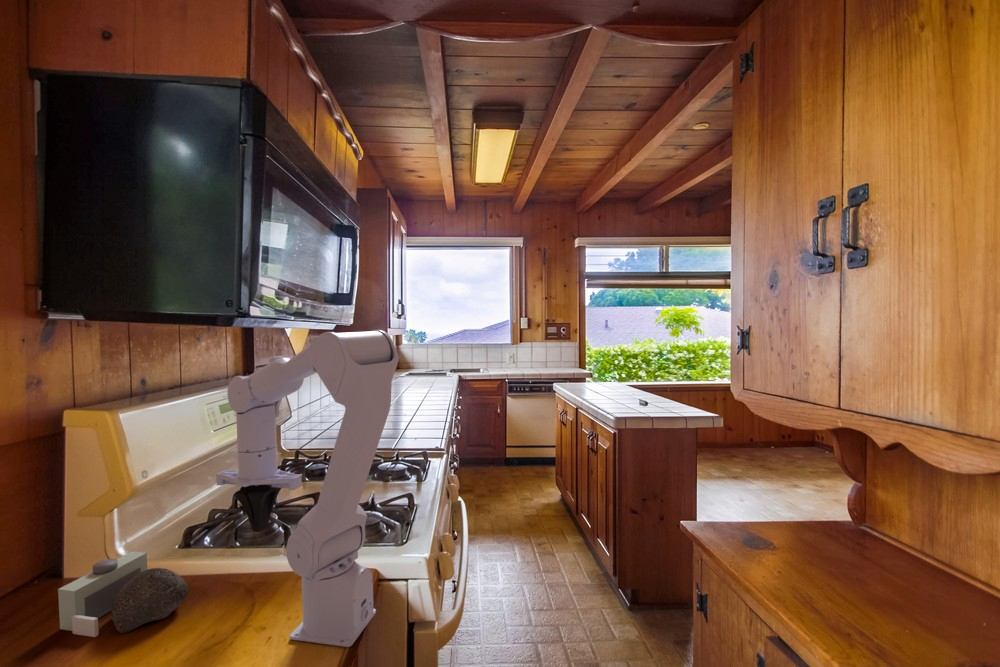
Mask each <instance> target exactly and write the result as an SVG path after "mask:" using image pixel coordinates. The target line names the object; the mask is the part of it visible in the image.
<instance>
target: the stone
mask: <svg viewBox="0 0 1000 667" xmlns="http://www.w3.org/2000/svg"><path fill="white" fill-rule="evenodd" d="M189 591H190V589H189V587H188V584H187V583H186V581H185V579H184V578H183V577H182V576H180V575H179V574H178V573H176V572H174V571H172V570H170V569H168V568H162V567H153V568H147V570H145V571H143V572H141V573H139V574H138V575H137V576H135V577H133V579H131V580H130V581H129V582H128V583H127V584H125V585H124V586H123V587H122V588H121V590H120V591H119V592H118V593H117V594H116V596H115V597H114V599H113V600H112V605H111V606H112V610H111V619H112V622H113V624H114V628H115V629H116V630H117V631H118V632H119V633H121V634H126V633H130V632H132V631H133V630H135V629H136V628H138V627H140V626H142V625H144V624H148V623H151V622H157V621H160V620H163V619H165V618H168V617H169V616H170V615H171V614H172V613H173V612H174V611H175V609H176V608H178V607H179V606H180V605H181V604H182V603H183V602H184V601H185V599H186V597H187V595H188V594H189Z"/></svg>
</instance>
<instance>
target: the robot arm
mask: <svg viewBox="0 0 1000 667" xmlns="http://www.w3.org/2000/svg"><path fill="white" fill-rule="evenodd" d="M399 360H400V355H399V353H398V351H397V349H396V346H395V343H394V341H393V339H392V338H391V336H390V335H389V334H388V333H387V332H386V331H384V330H381V329H373V330H370V331H369V330H368V331H350V332H346V331H345V332H334V331H326V332H323V333H321V334H319V336H316V337H312V338H311V339H310V343H309V345H308V346H306V347H305V348H304V349H302V350H301V351H300V352H298V353H297V354H295V355H294V356H293V357H290V358H289V357H283V356H282V355H281V356H272V357H271V358H269V360H268V362H269V363H268V364H266V365H264V366H262V367H257V368H255V369H253V373H251V374H250V375H245V376H243V375H234V376H233V378H232V379H231V380H230V381H229V383H228V386H227V392H226V393H227V394H226V395H227V401H228V403H229V407H230V408H231V409H232V411H234V412H235V416H236V419H235V420H236V442H237V464H238V466H237V467H238V468H237V469H234V470H233V469H231V470H229V469H225V470H222V471H220V472H218V473H216V474H215V479H216V480H215V482H216V486H224V485H235V486H236V487H240V488H239V490H237V491H235V492H234V497H235V498H236V500H237V501H238V502H239V503H240V505H241V506H242V508H243V509H244V512H245V513H246V517H247V518H248V521H249V523H250V526H251V530H252V532H254V533H255V532H256V533H261V532H263V531H265V529H267V528H268V527H269V523H270V517H271V514H272V510H273V507H274V504H275V501H276V499H277V497H278V495H279V493H280V491H281V489H288V490H289V491H296V490H297V489H299V488H300V487H302V486H303V483H302V481H303V480H302V474H301V473H300V474H297V473H293V472H288V471H285V470H281V469H278V444H277V442H278V441H277V418H278V417H279V415H280V405H281V403H282V401H283V399H284V398H286V397H288V396H289V395H291V394H293V393H295V392H297V391H298V390H300V389H301V388H302V386H303V383H304V381H305V378H308V377H310V376H313V375H315V374H317V375H318V377H319V378H320V380H321V381H322V383H323V384H324V386H325V388H326V389H327V391H328V393H329V394H330V395H331V397H332V399H333V401H334V402H335V403H336V404H340V405H342V406H344V409H345V410H344V413H343V417H342V421H341V423H340V427H339V430H338V434H337V437H336V440H335V442H334V443H335V444H334V447H333V450H332V454H331V456H330V461H329V463H328V467H327V469H326V470H327V471H326V473H325V477H324V479H323V483H322V486H321V491H320V494H319V497H318V499H317V503H316V504H315V505H314V506H312V508H311V509H310V510H309V511H308V512H306V513H305V514H304V516H303V517H301V519H300V520H298V522H297V525H296V529H295V530H294V532H292V533H291V534H290V535H289V537H288V539H287V543H286V547H285V548H286V549H285V550H286V553H285V555H286V559H287V562H288V565H289V566H290V568H291V569H292V571H293V572H294V573H295V574H296V575H297V576H299V577H301V599H302V601H301V604H302V622H301V623H300V624H299V625H298V626H297V627H296V628H295V629H294V630H292V632H291V633H290V634H289V639H290V640H293V641H301V642H308V643H313V644H314V643H316V644H321V645H323V644H324V645H329V646H336V647H344V648H350V647H351V646H353V644H354V643H355V642H356V640H357V639H358V638H359V636H360V635H361V634H362V632H363V631H364V630H365V628H366V627H367V626H368V624H369V622H370V621H371V620H372V618H373V617H374V616H375V615H376V613H377V609H376V608H374V579H373V572H372V570H371V568H370V567H367V566H364V565H361V564H359V563H358V562H356V560H357V559H358V558H359V550H361V549H362V548H363V546H364V544H365V541H366V522H367V519H368V515H367V513H366V511H365V510H364V508H363V507H362V506H361V505H360V501H361V499H362V494H363V492H364V489H365V487H366V483H367V480H368V477H369V473H370V470H371V468H372V465H373V462H374V459H375V456H376V453H377V451H378V450H377V449H378V447H379V443H380V440H381V438H382V434H383V432H384V429H385V425H386V421H387V419H388V416H389V413H390V410H391V407H392V406H391V405H392V382H393V379H394V376H395V372H396V369H397V367H398V362H399Z"/></svg>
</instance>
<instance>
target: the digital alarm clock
mask: <svg viewBox="0 0 1000 667" xmlns="http://www.w3.org/2000/svg"><path fill="white" fill-rule="evenodd" d="M147 556H148V554H147V552H142V551H129V553H126V554H124V555H122V556H120V557H118V558H107V559H104V560H101V561H98V562H96V563H94V564H93V565H92V571H91V572H89V573H87V574H85V575H83V576H81V577H79V578H77V579H75V580H73V581H71V582H70V583H67V584H65V585H63V586H61V587H59V588H58V589H57V594H58V613H59V629H60V630H63V631H64V630H65V631H70V632H72V634H73V635H79V636H85V637H90V638H91V637H92V638H96V637H98V636H99V619H100V618H101V617H102V616H105V614H107V613H109V612H112V606H111V605H112V600H113V599H114V597H115V596H116V594H117V593H118V592H119V591H120V590H121V588H122V587H123V586H124V585H125V584H127V583H128V582H129V581H130V580H131V579H133V577H135V576H137V575H138V574H139V573H141V572H143V571H145V570H148V557H147Z"/></svg>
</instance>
